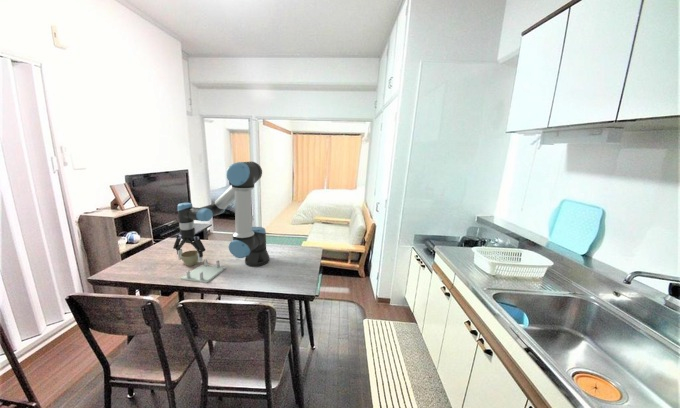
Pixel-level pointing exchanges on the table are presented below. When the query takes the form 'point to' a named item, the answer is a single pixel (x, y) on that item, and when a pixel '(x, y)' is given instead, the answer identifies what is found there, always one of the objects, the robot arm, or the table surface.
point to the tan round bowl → (190, 257)
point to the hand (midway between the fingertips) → (190, 260)
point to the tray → (203, 272)
